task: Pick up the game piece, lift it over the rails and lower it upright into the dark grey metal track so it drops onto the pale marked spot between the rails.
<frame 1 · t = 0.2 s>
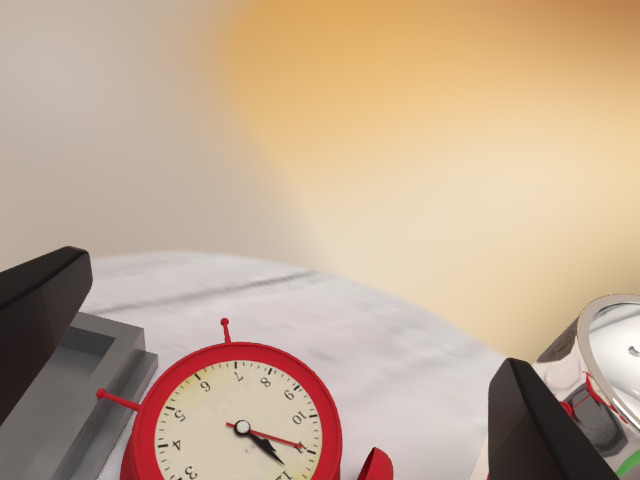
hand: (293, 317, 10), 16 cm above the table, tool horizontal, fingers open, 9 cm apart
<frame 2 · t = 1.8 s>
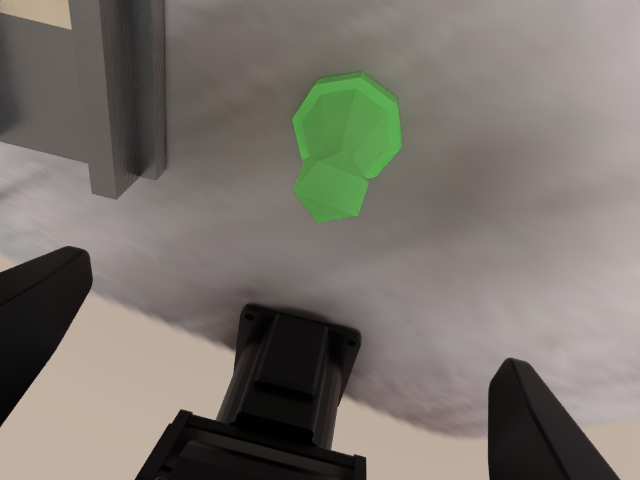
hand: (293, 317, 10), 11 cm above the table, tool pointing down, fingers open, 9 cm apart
game piece: (349, 124, 18), on the table
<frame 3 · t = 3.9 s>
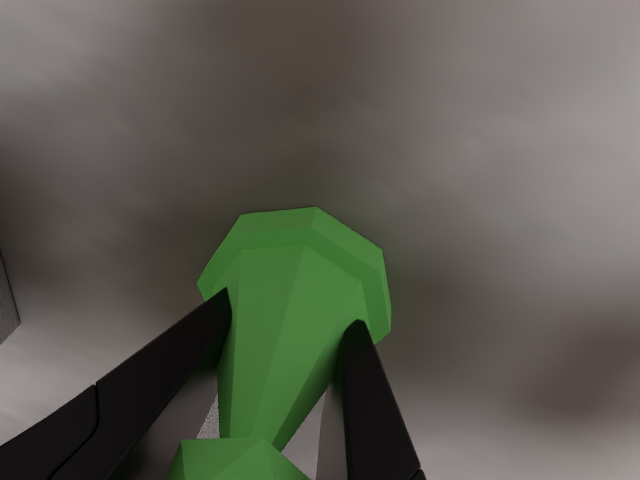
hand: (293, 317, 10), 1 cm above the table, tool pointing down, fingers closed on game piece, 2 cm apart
game piece: (301, 279, 11), on the table, touching gripper
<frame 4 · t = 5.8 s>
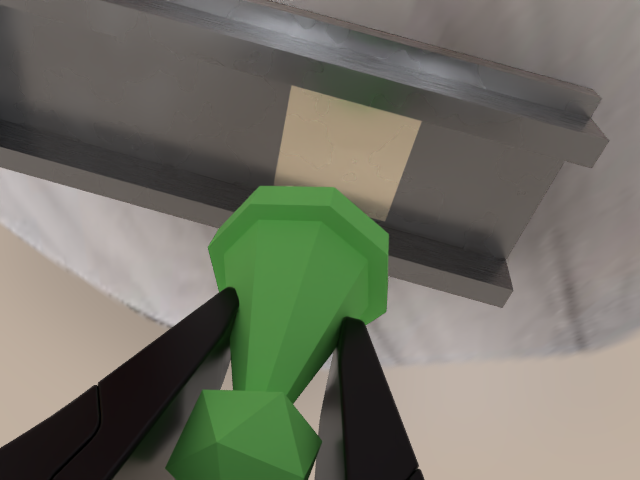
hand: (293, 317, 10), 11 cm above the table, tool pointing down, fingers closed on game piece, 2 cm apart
track: (253, 117, 19), on the table
game piece: (305, 254, 11), point 9 cm above the table, touching gripper
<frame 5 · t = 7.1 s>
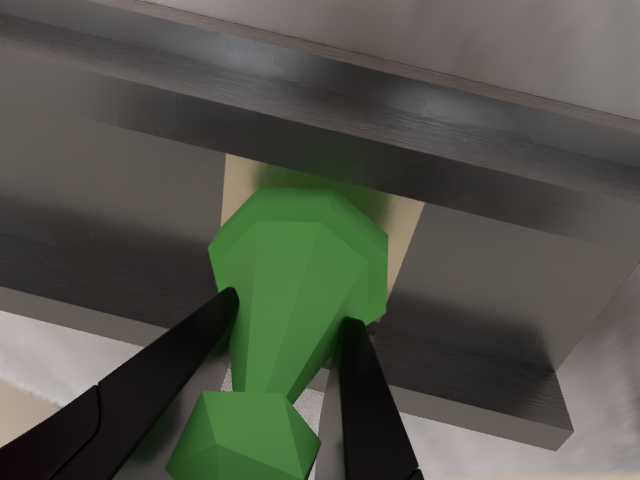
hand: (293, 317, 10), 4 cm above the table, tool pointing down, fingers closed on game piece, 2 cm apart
track: (183, 180, 13), on the table
game piece: (305, 255, 11), point 2 cm above the table, touching gripper
when the fingers open (3 cm above the table, at t = 7.8 s): game piece stays where it is, resting on track.
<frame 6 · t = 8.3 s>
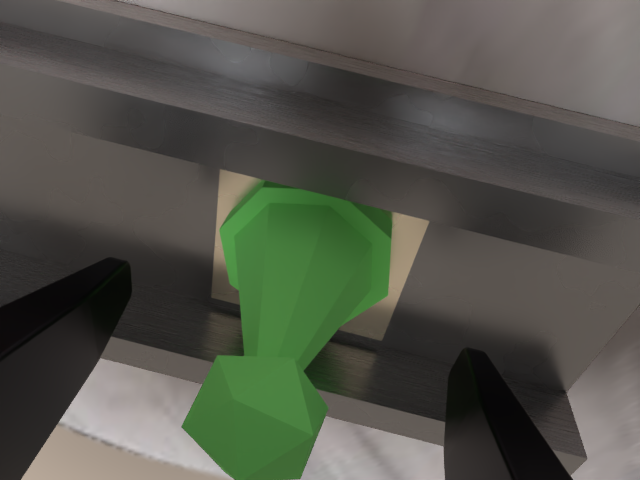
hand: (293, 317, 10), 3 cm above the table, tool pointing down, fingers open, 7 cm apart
track: (176, 191, 13), on the table
game piece: (311, 240, 12), point 1 cm above the table, touching track
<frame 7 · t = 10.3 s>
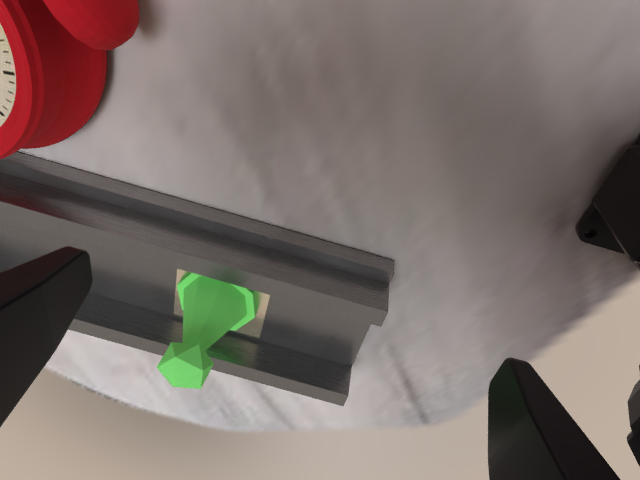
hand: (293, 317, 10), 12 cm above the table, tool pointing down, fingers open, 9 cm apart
track: (157, 261, 26), on the table
game piece: (222, 289, 25), point 1 cm above the table, touching track
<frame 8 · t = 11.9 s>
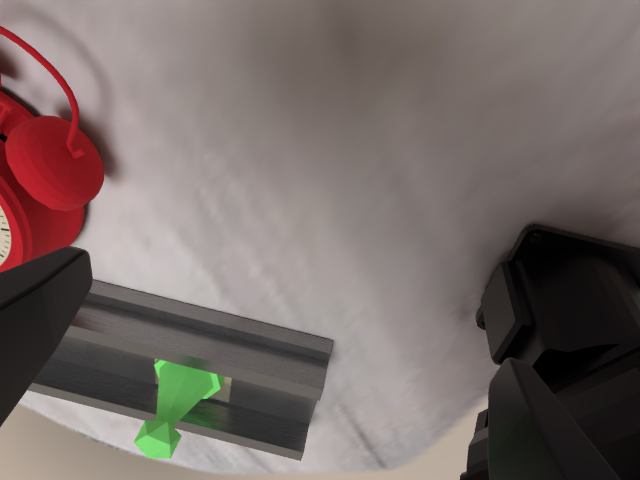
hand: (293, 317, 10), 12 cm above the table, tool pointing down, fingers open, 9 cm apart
track: (140, 340, 30), on the table
game piece: (193, 364, 29), point 1 cm above the table, touching track
alarm clock: (5, 151, 24), on the table, touching track
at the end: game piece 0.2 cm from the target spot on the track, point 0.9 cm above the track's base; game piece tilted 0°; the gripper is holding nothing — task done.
